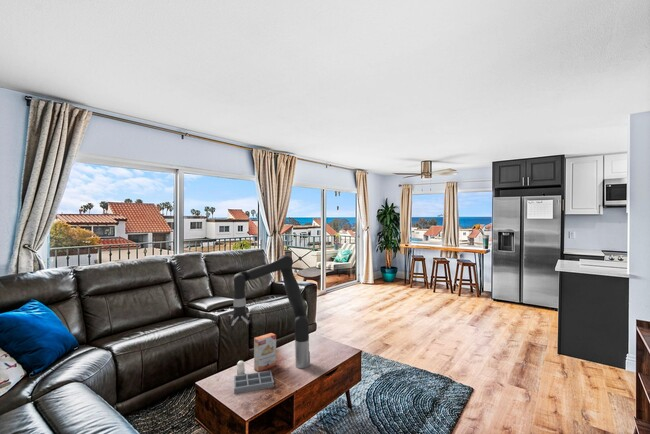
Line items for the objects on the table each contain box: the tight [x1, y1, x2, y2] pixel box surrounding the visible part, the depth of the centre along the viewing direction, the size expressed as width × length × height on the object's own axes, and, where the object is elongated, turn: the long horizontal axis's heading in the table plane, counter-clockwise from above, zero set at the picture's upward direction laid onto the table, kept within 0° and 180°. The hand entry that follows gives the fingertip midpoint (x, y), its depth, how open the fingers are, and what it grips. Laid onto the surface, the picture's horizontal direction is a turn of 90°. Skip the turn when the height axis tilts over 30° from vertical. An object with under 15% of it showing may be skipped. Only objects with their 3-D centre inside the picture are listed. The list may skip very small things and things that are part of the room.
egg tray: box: [233, 370, 275, 394], centre depth 191 cm, size 22×15×3 cm
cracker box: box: [253, 332, 277, 373], centre depth 212 cm, size 14×6×21 cm, turn 134°
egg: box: [236, 360, 246, 376], centre depth 203 cm, size 5×5×8 cm
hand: (240, 330), depth 203 cm, fingers open, 8 cm apart
